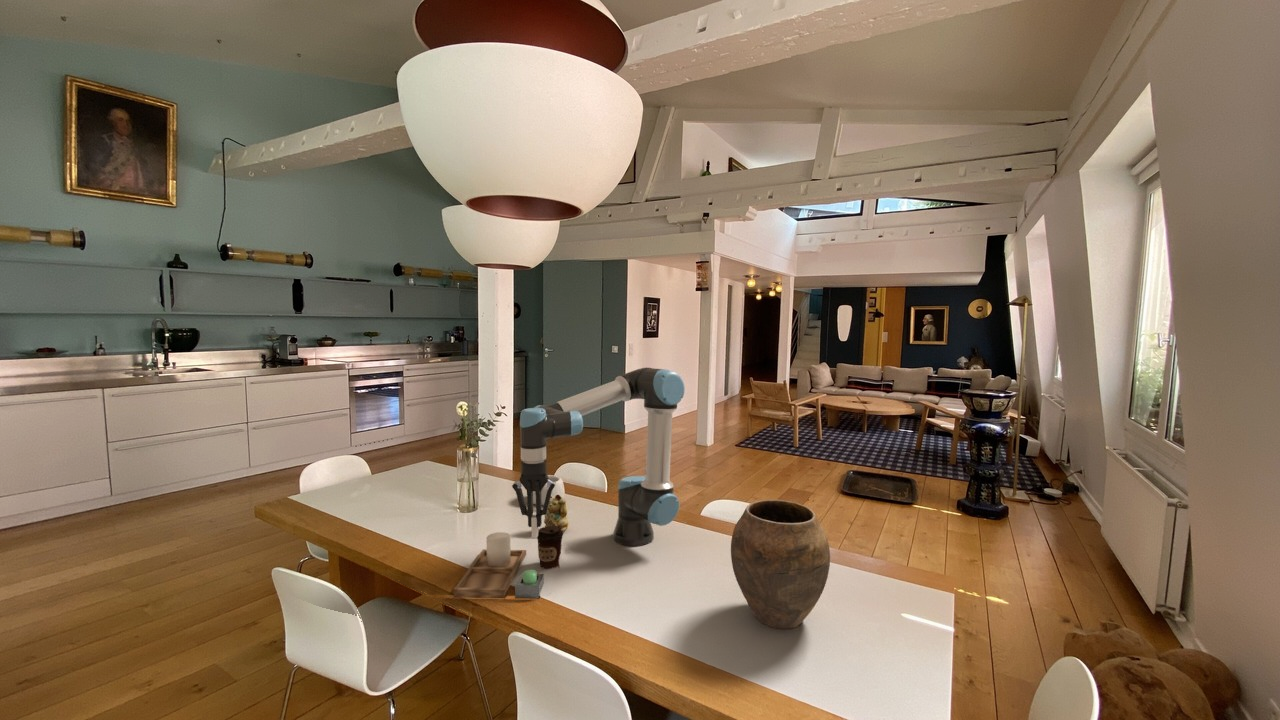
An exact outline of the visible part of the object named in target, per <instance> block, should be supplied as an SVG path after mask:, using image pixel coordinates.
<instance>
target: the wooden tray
mask: <svg viewBox="0 0 1280 720" xmlns="http://www.w3.org/2000/svg"><path fill="white" fill-rule="evenodd" d="M526 556H527V550H526V549H511V563H510V564H509V565H508V566H506V567H504V568H503V567H488V566H487V549H482V550H481V551H480V553H479V554H478V555H477V557H476V558H475V560H473V562H472V563H471V565H470V566H469V567H468V569H467V570H466V572H465V573H464V574H463V576H462V577H461V579H460V580H459V581H458V583H457V584H456V585H455V587H454V588H453V598H457V599H458V598H459V599H460V598H461V599H463V598H466V599H469V598H470V599H506V597H507V595H506V594H507V593H508V591H509V588H510V587H511V584H512V582H513V581H514V579H515V577H516V575H517V573H518V571H519V569H520V567H521V565H522V564H523V561H524V560H525V559H526Z"/></svg>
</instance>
